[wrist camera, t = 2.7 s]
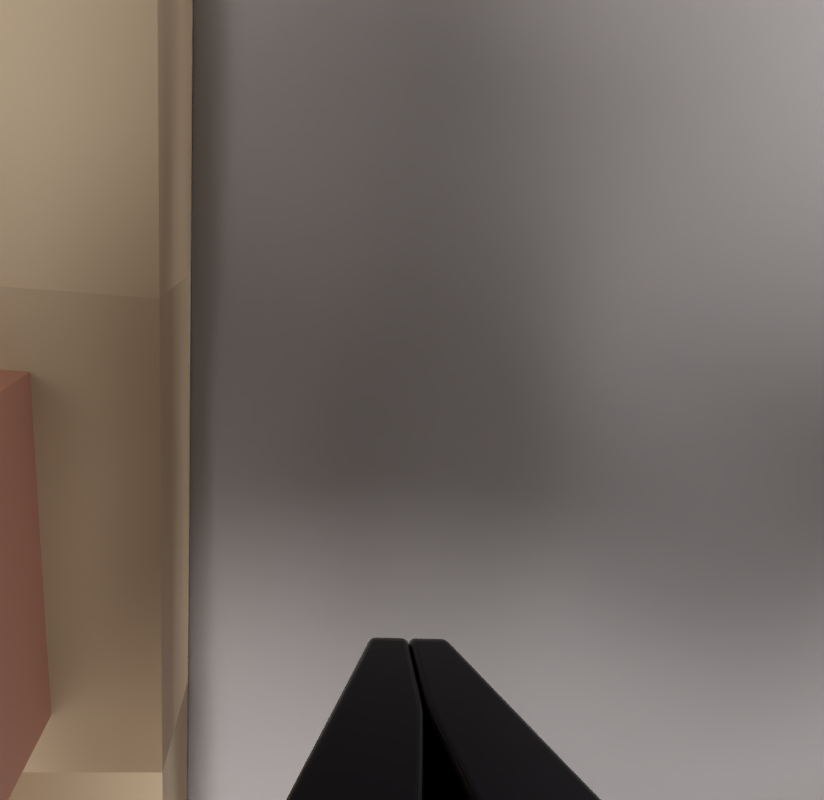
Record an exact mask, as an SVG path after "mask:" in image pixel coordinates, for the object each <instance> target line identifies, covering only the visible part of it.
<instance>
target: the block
mask: <svg viewBox="0 0 824 800" xmlns="http://www.w3.org/2000/svg"><path fill="white" fill-rule="evenodd" d="M50 717H51V706H50V690H49V674H48V658H47V642H46V626H45V610H44V594H43V578H42V561H41V545H40V529H39V513H38V497H37V481H36V465H35V449H34V433H33V417H32V401H31V384H30V372H27V371H11V370H0V800H8V799H9V797H10V795H11V793H12V791H13V790H14V788H15V786H16V784H17V782H18V780H19V778H20V776H21V774H22V772H23V770H24V768H25V766H26V764H27V762H28V760H29V758H30V756H31V754H32V752H33V750H34V748H35V746H36V744H37V742H38V740H39V738H40V736H41V734H42V732H43V730H44V728H45V726H46V724H47V722H48V721H49V719H50Z"/></svg>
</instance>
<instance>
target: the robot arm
mask: <svg viewBox="0 0 824 800" xmlns="http://www.w3.org/2000/svg"><path fill="white" fill-rule="evenodd" d="M286 800H600V799H599V798H598V797H597V796H596V794H595V793H594V792H593V791H592V790H591V789H590V788H589V787H588V786H587V785H586V784H585V783H584V782H583V781H582V780H581V779H580V778H579V777H578V776H577V775H576V774H575V773H574V772H573V771H572V770H571V769H570V768H569V767H568V766H567V765H566V763H565V762H564V761H563V760H562V759H561V758H560V757H559V756H558V755H557V754H556V753H555V752H554V751H553V750H552V749H551V748H550V747H549V746H548V745H547V744H546V743H545V742H544V741H543V740H542V739H541V738H540V737H539V736H538V735H537V733H536V732H535V731H534V730H533V729H532V728H531V727H530V726H529V725H528V724H527V723H526V722H525V721H524V720H523V719H522V718H521V717H520V716H519V715H518V714H517V713H516V712H515V711H514V710H513V709H512V708H511V707H510V706H509V705H508V704H507V702H506V701H505V700H504V699H503V698H502V697H501V696H500V695H499V694H498V693H497V692H496V691H495V690H494V689H493V688H492V687H491V686H490V685H489V684H488V683H487V682H486V681H485V680H484V679H483V678H482V677H481V676H480V675H479V674H478V672H477V671H476V670H475V669H474V668H473V667H472V666H471V665H470V664H469V663H468V662H467V661H466V660H465V659H464V658H463V657H462V656H461V655H460V654H459V653H458V652H457V651H456V650H455V649H454V648H453V647H452V646H451V645H450V644H449V643H448V642H447V641H445V640H443V639H412V640H411V641H410V642H409V644H408V642H407V641H406V640H405V639H402V638H373V639H371V640H370V641H369V642H368V644H367V646H366V648H365V650H364V652H363V654H362V656H361V658H360V660H359V661H358V663H357V665H356V667H355V669H354V671H353V673H352V675H351V677H350V679H349V681H348V683H347V684H346V686H345V688H344V690H343V692H342V694H341V696H340V698H339V700H338V702H337V704H336V706H335V707H334V709H333V711H332V713H331V715H330V717H329V719H328V721H327V723H326V725H325V727H324V728H323V730H322V732H321V734H320V736H319V738H318V740H317V742H316V744H315V746H314V748H313V750H312V751H311V753H310V755H309V757H308V759H307V761H306V763H305V765H304V767H303V769H302V771H301V773H300V774H299V776H298V778H297V780H296V782H295V784H294V786H293V788H292V790H291V792H290V794H289V796H288V797H287V799H286Z"/></svg>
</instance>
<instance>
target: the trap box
mask: <svg viewBox="0 0 824 800" xmlns="http://www.w3.org/2000/svg"><path fill="white" fill-rule="evenodd" d="M192 30H193V0H0V370H11V371H27V372H30V384H31V401H32V417H33V433H34V449H35V465H36V481H37V497H38V513H39V529H40V545H41V561H42V578H43V594H44V610H45V626H46V642H47V658H48V674H49V690H50V706H51V717H50V719H49V721H48V722H47V724H46V726H45V728H44V730H43V732H42V734H41V736H40V738H39V740H38V742H37V744H36V746H35V748H34V750H33V752H32V754H31V756H30V758H29V760H28V762H27V764H26V766H25V768H24V770H23V772H22V774H21V776H20V778H19V780H18V782H17V784H16V786H15V788H14V790H13V791H12V793H11V795H10V797H9V799H8V800H187V777H188V627H189V478H190V329H191V180H192Z"/></svg>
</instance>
